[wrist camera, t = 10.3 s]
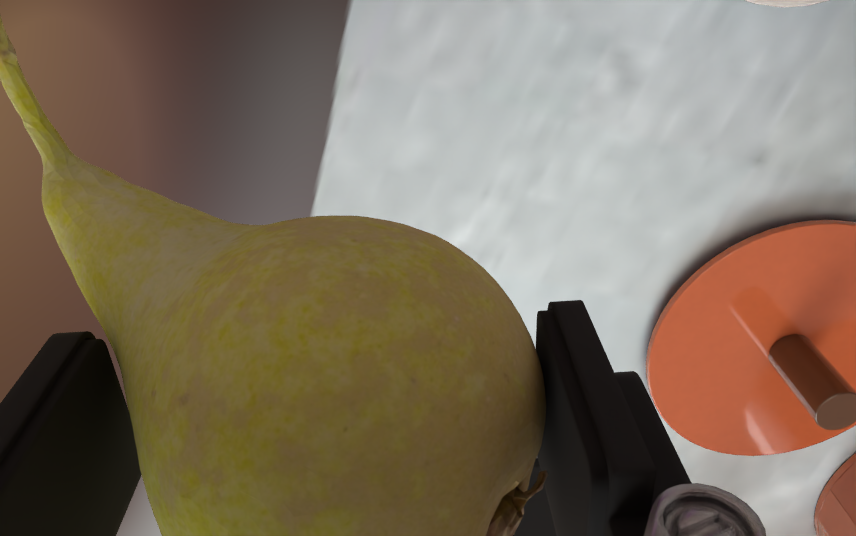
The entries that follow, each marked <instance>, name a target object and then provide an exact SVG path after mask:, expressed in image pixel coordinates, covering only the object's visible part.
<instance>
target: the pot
mask: <svg viewBox="0 0 856 536" xmlns="http://www.w3.org/2000/svg"><path fill="white" fill-rule="evenodd" d="M814 526H815V530H816V534H817V536H856V453H855V454H854V455H852V456H851V457H850V458H849V459H848V460H847V461H846V462H845V463H844V464H843V465H842V466H841V467H840V468H839V469H838V470H837V471H836V472H835V473H834V474H833V476H832V477H831V478H830V480H829V481H828V483H827V484H826V485H825V487H824V489H823V491H822V493H821V495H820V497H819V499H818V502H817V505H816V509H815V515H814Z"/></svg>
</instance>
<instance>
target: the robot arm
mask: <svg viewBox="0 0 856 536" xmlns="http://www.w3.org/2000/svg"><path fill="white" fill-rule="evenodd" d="M746 1H749V2H751V3H754V4H761V5H768V6H775V7H794V6H809V5H813V4H817V3H821V2H825V1H828V0H746ZM536 352H537V354H538V357H539V361H540V364H541V368H542V372H543V378H544V386H545V395H546V419H545V427H544V433H543V439H542V445H541V448H540V450H539V453H538V455H537V457H538V461H539V465H540V469H541V471H544V470H546V471H547V473H548V476H547V478H546V480H545V482H544V486H545V490H546V494H547V498H548V502H549V506H550V510H551V514H552V518H553V523H554V527H555V531H556V535H557V536H766V532H765V528H764V526H763V524H762V522H761V520H760V518H759V517H758V515H757V514H756V513H755V512H754V511H753V510H752V509H751V508H750V507H749V506H748V504H747V503H745V502H744V501H742V500H741V499H739V498H738V497H736V496H735V495H733V494H732V493H729V492H727V491H724V490H722V489H720V488H717V487H714V486H709V485H704V484H699V483H695V484H692V483H691V481H690V479H689V477H688V475H687V473H686V471H685V469H684V467H683V465H682V463H681V461H680V459H679V457H678V454H677V452H676V450H675V448H674V446H673V444H672V442H671V440H670V438H669V436H668V434H667V432H666V430H665V428H664V426H663V424H662V421H661V419H660V417H659V415H658V413H657V411H656V409H655V407H654V405H653V403H652V401H651V399H650V397H649V395H648V393H647V391H646V388H645V386H644V384H643V382H642V380H641V379H640V377H639V375H638V374H637V373H636V372H634V371H630V372H615V373H614V371H613V369H612V367H611V365H610V362H609V360H608V358H607V355H606V353H605V351H604V349H603V346H602V344H601V342H600V339H599V337H598V335H597V333H596V330H595V328H594V326H593V323H592V321H591V319H590V317H589V314H588V312H587V310H586V307H585V305H584V303H583V302H582V301H581V300H575V301H559V302H550V303H549V305H548V310H547V311H538V314H537V331H536ZM141 475H142V474H141V471H140V466H139V460H138V454H137V448H136V443H135V438H134V432H133V426H132V422H131V418H130V414H129V410H128V407H127V405H126V402H125V399H124V396H123V393H122V390H121V387H120V384H119V381H118V378H117V375H116V372H115V369H114V366H113V363H112V360H111V357H110V355H109V351H108V348H107V346H106V344H105V342H104V341H103V340H102V339H96V338H95V336H94V335H93V334H92V333H91V332H88V331H86V332H72V333H71V332H70V333H57V334H53V335H52V336H51V337H50V338H49V339H48V341H47V342H46V343H45V344H44V346H43V347H42V348H41V350H40V351H39V352H38V354H37V355H36V356H35V358H34V359H33V361H32V362H31V363H30V365H29V366H28V367H27V369H26V370H25V371H24V373H23V374H22V375H21V377H20V378H19V379H18V381H17V382H16V383H15V385H14V386H13V387H12V389H11V390H10V391H9V393H8V394H7V395H6V397H5V398H4V399H3V401H2V402H1V403H0V536H116V534H117V532H118V529H119V527H120V524H121V522H122V520H123V517H124V515H125V513H126V510H127V508H128V505H129V503H130V501H131V498H132V496H133V494H134V491H135V489H136V486H137V484H138V481H139V479H140V477H141Z"/></svg>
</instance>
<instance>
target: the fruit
mask: <svg viewBox="0 0 856 536" xmlns="http://www.w3.org/2000/svg"><path fill="white" fill-rule="evenodd" d="M0 80H1V83H2V85H3V87H4V89H5V91H6V93H7V95H8V96H9V98H10V100H11V102H12V104H13V105H14V107H15V109H16V111H17V112H18V114H19V115H20V117H21V118H22V120H23V123H24V127H25V128H26V130H27V131H28V133H29V135H30V137H31V138H32V140H33V142H34V144H35V145H36V147H37V149H38V151H39V153H40V154H41V157H42V162H43V167H44V169H43V182H42V203H43V209H44V213H45V216H46V218H47V220H48V222H49V225H50V227H51V229H52V231H53V233H54V236H55V238H56V240H57V243H58V245H59V247H60V249H61V251H62V253H63V255H64V257H65V258H66V261H67V262H68V265H69V267H70V268H71V271H72V273H73V275H74V277H75V279H76V282H77V284H78V286H79V287H80V289H81V291H82V293H83V295H84V296H85V299H86V300H87V302H88V304H89V306H90V307H91V309H92V311H93V312H94V314H95V316H96V317H97V319H98V321H99V323H100V324H101V326H102V328H103V329H104V331H105V334H106V336H107V337H108V340H109V342H110V344H111V346H112V348H113V350H114V352H115V355H116V358H117V361H118V363H119V366H120V369H121V373H122V378H123V383H124V389H125V394H126V399H127V405H128V410H129V414H130V418H131V422H132V426H133V432H134V438H135V443H136V448H137V454H138V460H139V466H140V471H141V474H142V477H143V481H144V484H145V488H146V492H147V495H148V499H149V501H150V504H151V507H152V510H153V513H154V516H155V518H156V521H157V523H158V526H159V529H160V532H161V534H162V536H513V535H514V533H515V531H516V529H517V527H518V526H519V524H520V522H521V520H522V518H523V514H524V505H525V504H526V502H527V501H528V500H529V499H530V498H531V497H532V496H533V495H534V494H535V493H537V492H539V491H540V490H542V489H543V486H544V482H545V480H546V478H547V476H548V473H547V471H546V470H544V471H541V472H539V474H538V477H537V481H536V483H535V484H534V485H533V486H532V488H531V489H530V490H527V489H528V486H529V481H530V476H531V473H532V469H533V466H534V463H535V460H536V457H537V455H538V453H539V450H540V448H541V445H542V439H543V433H544V427H545V419H546V395H545V386H544V378H543V372H542V368H541V364H540V361H539V357H538V354H537V352H536V349H535V346H534V344H533V341H532V338H531V336H530V334H529V332H528V330H527V328H526V326H525V324H524V322H523V320H522V318H521V316H520V314H519V313H518V311H517V309H516V308H515V306H514V305H513V303H512V301H511V300H510V298H509V297H508V296H507V295H506V293H505V292H504V291H503V289H502V288H501V287H500V286H499V284H498V283H497V282H496V281H495V280H494V279H493V277H492V276H491V275H490V274H489V273H488V272H487V271H486V270H485V269H484V268H483V267H482V266H480V265H479V264H478V263H477V262H476V261H474V260H473V259H472V258H470V257H469V256H468V255H466V254H465V253H464V252H462V251H461V250H459V249H458V248H456V247H455V246H453V245H452V244H450V243H449V242H447V241H445V240H443V239H441V238H439V237H437V236H436V235H433V234H430V233H427V232H424V231H422V230H419V229H416V228H413V227H410V226H407V225H405V224H400V223H396V222H392V221H387V220H381V219H375V218H369V217H361V216H316V217H306V218H298V219H292V220H287V221H281V222H277V223H273V224H268V225H246V224H237V223H231V222H227V221H224V220H221V219H218V218H216V217H213V216H211V215H209V214H206V213H203V212H201V211H199V210H196V209H194V208H191V207H188V206H185V205H183V204H179V203H176V202H174V201H172V200H170V199H167V198H165V197H163V196H161V195H159V194H157V193H155V192H152V191H150V190H147V189H144V188H142V187H139V186H136V185H133V184H131V183H128V182H126V181H124V180H123V179H121V178H120V177H118V176H117V175H115V174H113V173H112V172H109V171H107V170H104V169H101V168H99V167H96V166H93V165H91V164H88V163H86V162H84V161H83V160H81V159H79V158H78V157H76V156H75V155H74V154H73V153H72V152H71V151H70V150H69V148H68V147H67V145H66V144H65V142H64V141H63V139H62V138H61V136H60V135H59V133H58V132H57V131H56V129H55V128H54V127H53V126H52V125H51V123H50V122H49V120H48V119H47V117H46V115H45V114H44V112H43V110H42V108H41V106H40V104H39V103H38V101H37V99H36V97H35V96H34V94H33V92H32V90H31V88H30V87H29V85H28V83H27V82H26V80H25V78H24V75H23V73H22V71H21V68H20V66H19V63H18V61H17V57H16V52H15V49H14V47H13V45H12V43H11V42H10V40H9V38H8V35H7V34H6V31H5V29H4V26H3V23H2V20H1V16H0Z"/></svg>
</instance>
